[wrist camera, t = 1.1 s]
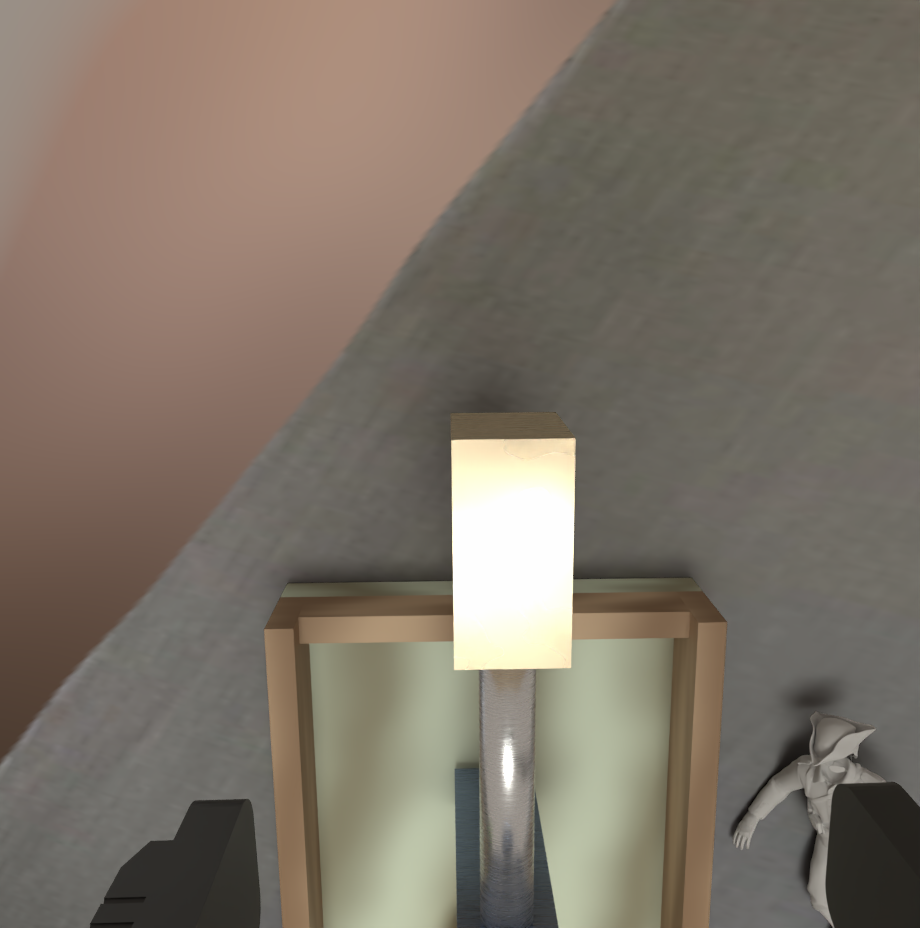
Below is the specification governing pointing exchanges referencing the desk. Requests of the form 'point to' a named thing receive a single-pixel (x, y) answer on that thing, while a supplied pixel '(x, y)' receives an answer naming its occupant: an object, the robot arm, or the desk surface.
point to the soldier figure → (815, 789)
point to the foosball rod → (508, 647)
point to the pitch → (457, 746)
